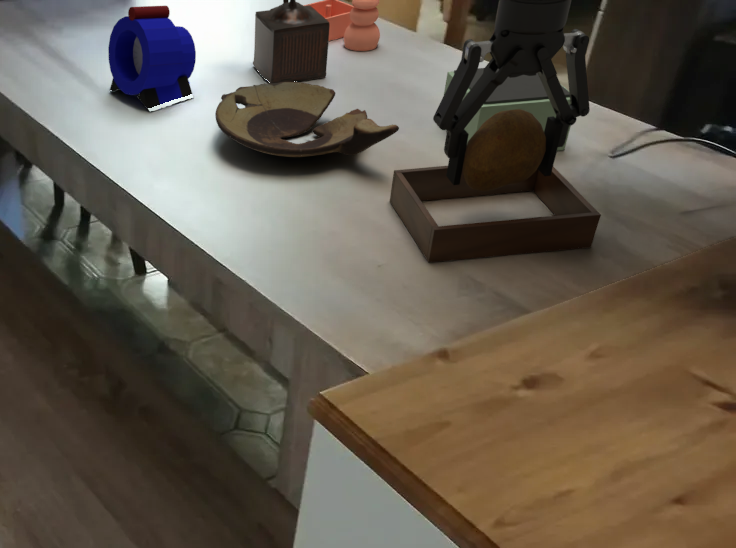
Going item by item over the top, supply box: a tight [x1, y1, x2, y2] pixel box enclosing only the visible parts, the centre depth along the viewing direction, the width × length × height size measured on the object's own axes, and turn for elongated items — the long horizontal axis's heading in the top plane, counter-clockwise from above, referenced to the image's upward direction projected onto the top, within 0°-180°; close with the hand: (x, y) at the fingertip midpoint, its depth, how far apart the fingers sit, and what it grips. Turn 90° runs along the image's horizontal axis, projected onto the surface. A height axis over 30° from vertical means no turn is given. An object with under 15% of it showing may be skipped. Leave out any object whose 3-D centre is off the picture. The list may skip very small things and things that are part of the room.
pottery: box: [302, 0, 381, 52], centre depth 173 cm, size 18×10×10 cm, turn 30°
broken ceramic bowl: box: [214, 81, 400, 158], centre depth 138 cm, size 22×30×8 cm
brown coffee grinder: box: [252, 0, 330, 83], centre depth 159 cm, size 16×11×18 cm
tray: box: [389, 165, 602, 263], centre depth 120 cm, size 17×21×4 cm
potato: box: [463, 109, 546, 191], centre depth 114 cm, size 8×12×9 cm
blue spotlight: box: [107, 5, 197, 109], centre depth 155 cm, size 12×12×15 cm
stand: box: [443, 67, 572, 152], centre depth 138 cm, size 14×14×8 cm
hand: (498, 175), depth 117 cm, fingers closed on potato, 11 cm apart
